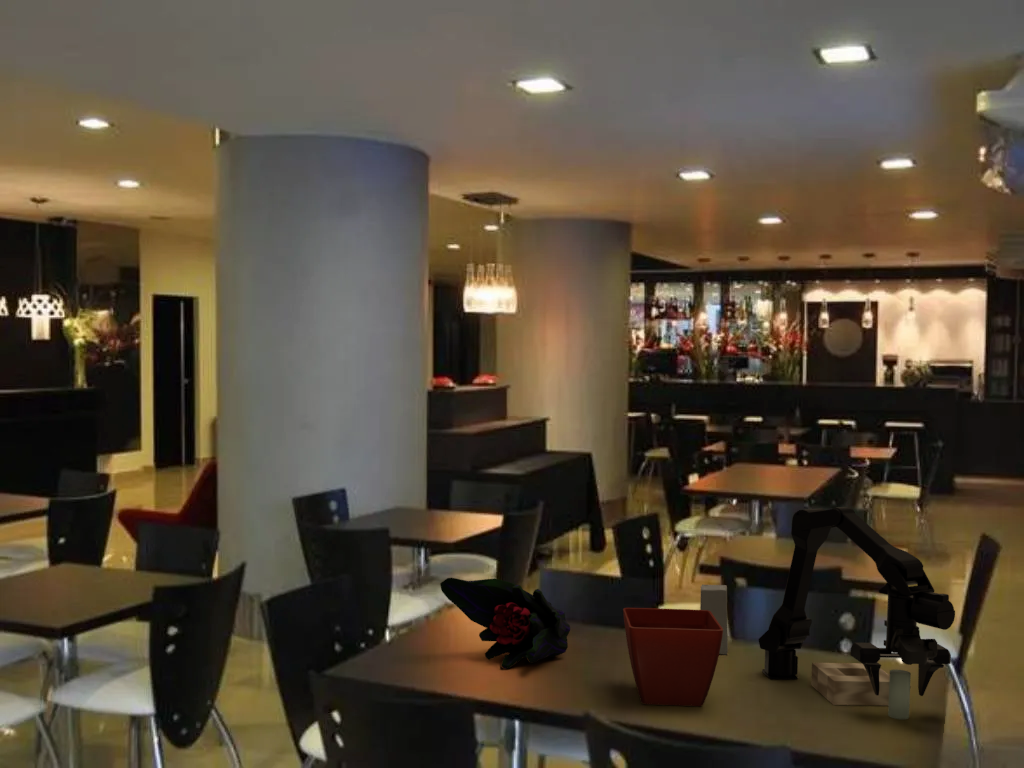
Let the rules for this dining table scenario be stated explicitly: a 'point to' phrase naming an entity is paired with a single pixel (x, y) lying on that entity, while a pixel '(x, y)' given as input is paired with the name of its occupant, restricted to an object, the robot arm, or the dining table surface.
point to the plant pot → (672, 653)
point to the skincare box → (716, 608)
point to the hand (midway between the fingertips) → (898, 695)
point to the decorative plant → (510, 619)
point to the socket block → (849, 684)
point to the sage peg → (899, 694)
